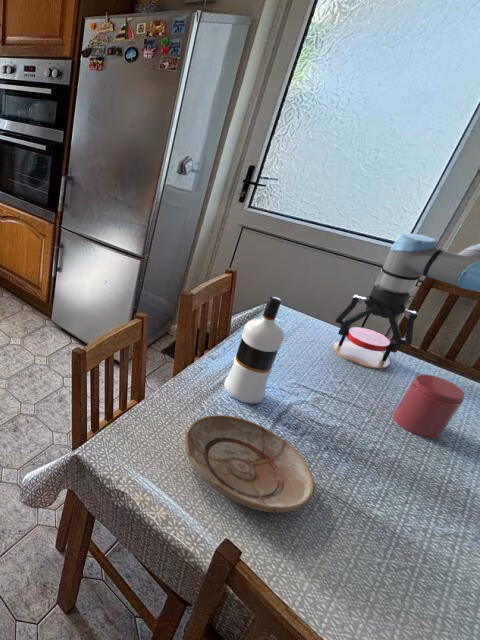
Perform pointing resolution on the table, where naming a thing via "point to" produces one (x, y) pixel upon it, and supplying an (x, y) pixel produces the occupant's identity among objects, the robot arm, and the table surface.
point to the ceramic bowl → (249, 464)
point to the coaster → (361, 355)
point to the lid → (368, 339)
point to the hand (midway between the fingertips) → (361, 351)
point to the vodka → (255, 356)
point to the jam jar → (428, 406)
